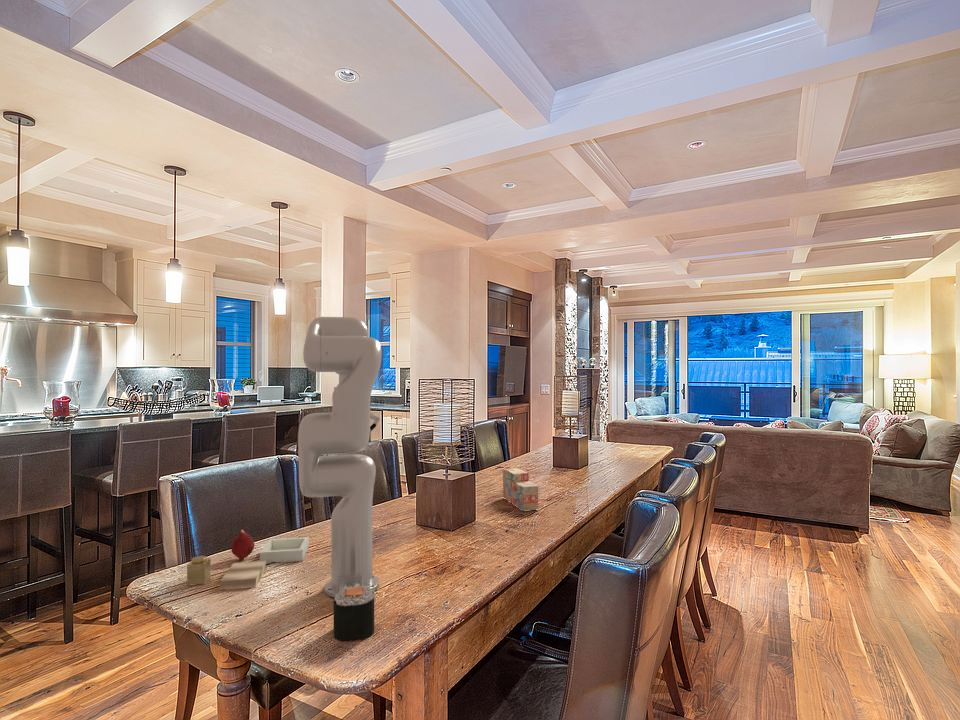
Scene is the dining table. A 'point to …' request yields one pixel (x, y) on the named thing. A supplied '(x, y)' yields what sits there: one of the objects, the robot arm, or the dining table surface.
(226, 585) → the maple board
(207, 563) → the bench dog
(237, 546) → the onion
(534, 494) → the stack of blocks
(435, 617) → the dining table surface
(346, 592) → the sushi
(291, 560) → the ceramic dish
